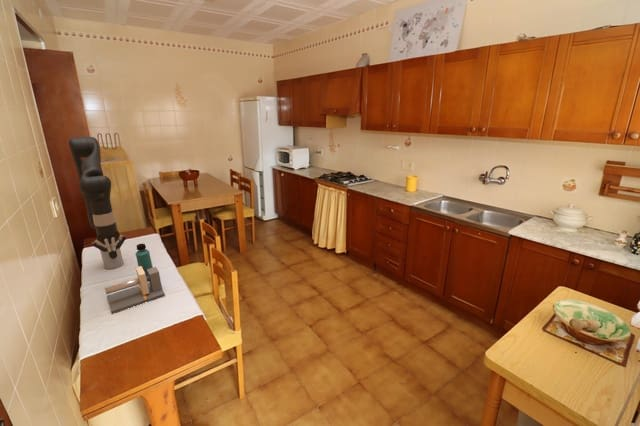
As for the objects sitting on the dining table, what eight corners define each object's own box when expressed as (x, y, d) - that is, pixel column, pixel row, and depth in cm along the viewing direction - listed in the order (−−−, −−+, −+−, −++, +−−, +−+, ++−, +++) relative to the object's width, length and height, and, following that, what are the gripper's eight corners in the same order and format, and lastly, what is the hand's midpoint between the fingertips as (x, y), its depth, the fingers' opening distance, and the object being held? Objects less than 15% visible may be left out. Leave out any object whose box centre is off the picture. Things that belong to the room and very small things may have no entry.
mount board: (107, 298, 146) (101, 277, 142) (157, 282, 159) (153, 263, 155) (111, 314, 135) (105, 292, 131) (165, 296, 148) (161, 275, 144)
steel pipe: (105, 292, 139) (104, 286, 138) (151, 278, 151) (150, 273, 150) (106, 296, 137) (105, 290, 136) (153, 281, 148) (152, 275, 147)
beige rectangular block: (139, 286, 151) (135, 267, 147) (145, 284, 152) (141, 266, 149) (143, 294, 144) (139, 275, 141) (149, 292, 146) (145, 273, 142)
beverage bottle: (157, 276, 164) (151, 243, 158) (147, 282, 159) (140, 248, 152) (148, 274, 166) (141, 241, 160) (137, 280, 161) (130, 246, 154)
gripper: (121, 216, 137) (129, 250, 143) (85, 223, 129) (95, 259, 135) (124, 221, 131) (132, 257, 137) (86, 228, 123) (96, 266, 129)
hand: (113, 258), depth 136 cm, fingers closed
